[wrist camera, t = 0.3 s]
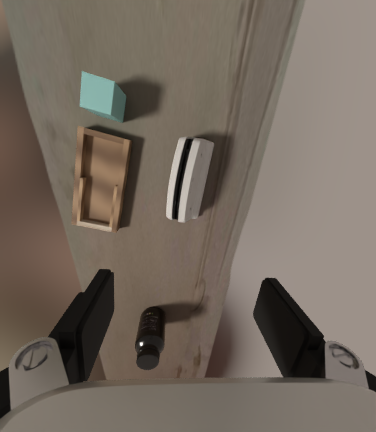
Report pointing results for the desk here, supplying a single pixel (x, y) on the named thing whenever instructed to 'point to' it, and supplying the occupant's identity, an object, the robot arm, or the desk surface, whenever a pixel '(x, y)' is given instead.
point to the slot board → (100, 179)
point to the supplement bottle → (150, 338)
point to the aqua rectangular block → (102, 97)
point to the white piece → (188, 178)
